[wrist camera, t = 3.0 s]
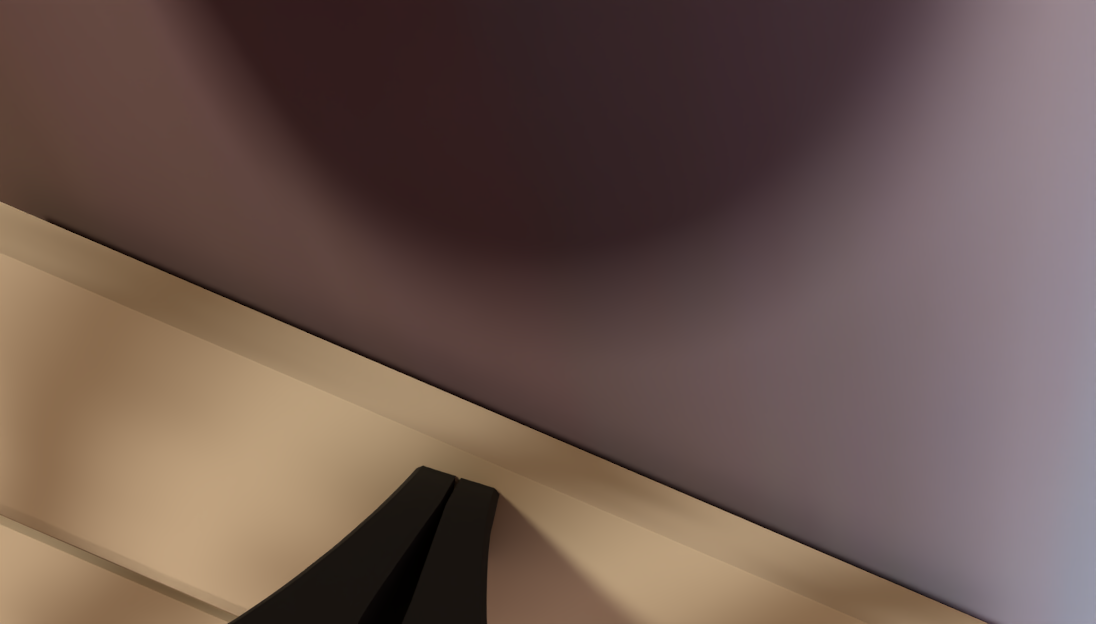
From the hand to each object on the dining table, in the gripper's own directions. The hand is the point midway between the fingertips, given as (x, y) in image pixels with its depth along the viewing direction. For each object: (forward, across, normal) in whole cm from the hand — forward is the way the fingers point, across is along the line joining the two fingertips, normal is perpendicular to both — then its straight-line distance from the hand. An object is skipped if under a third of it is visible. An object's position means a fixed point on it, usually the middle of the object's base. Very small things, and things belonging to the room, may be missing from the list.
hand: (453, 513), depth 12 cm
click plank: (+1, 0, +2) cm, 3 cm away
